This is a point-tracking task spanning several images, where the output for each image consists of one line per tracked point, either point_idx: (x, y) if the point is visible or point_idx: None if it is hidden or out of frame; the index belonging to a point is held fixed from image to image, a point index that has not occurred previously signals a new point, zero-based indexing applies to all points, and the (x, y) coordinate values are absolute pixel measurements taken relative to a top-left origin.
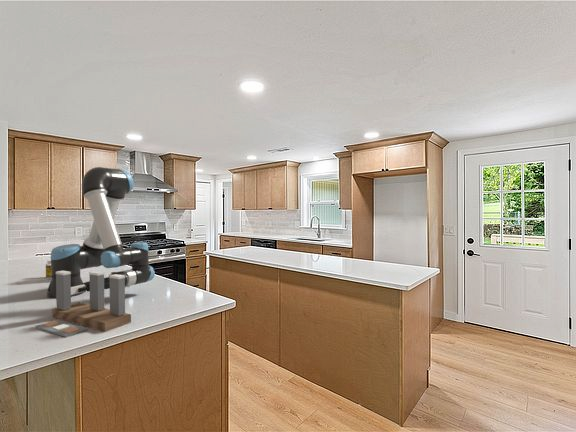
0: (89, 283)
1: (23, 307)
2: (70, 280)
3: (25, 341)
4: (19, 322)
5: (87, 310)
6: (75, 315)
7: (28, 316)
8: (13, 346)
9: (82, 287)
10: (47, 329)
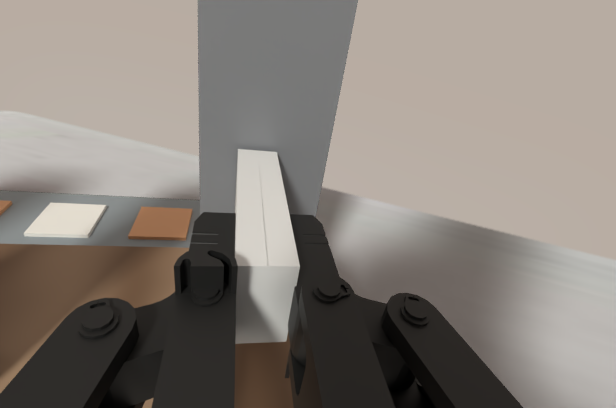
0: (328, 369)
1: (603, 295)
2: (198, 45)
3: (107, 159)
4: (339, 214)
5: (11, 328)
6: (35, 245)
7: (406, 250)
8: (108, 143)
9: (223, 243)
10: (114, 197)
